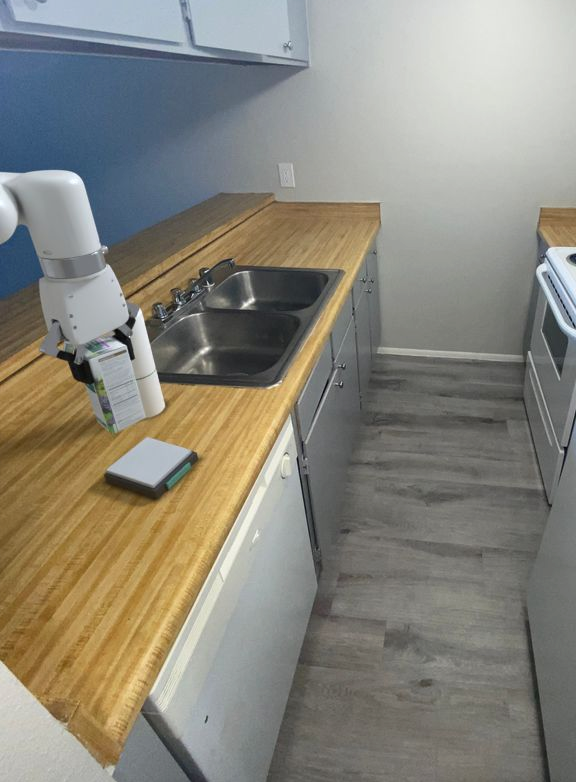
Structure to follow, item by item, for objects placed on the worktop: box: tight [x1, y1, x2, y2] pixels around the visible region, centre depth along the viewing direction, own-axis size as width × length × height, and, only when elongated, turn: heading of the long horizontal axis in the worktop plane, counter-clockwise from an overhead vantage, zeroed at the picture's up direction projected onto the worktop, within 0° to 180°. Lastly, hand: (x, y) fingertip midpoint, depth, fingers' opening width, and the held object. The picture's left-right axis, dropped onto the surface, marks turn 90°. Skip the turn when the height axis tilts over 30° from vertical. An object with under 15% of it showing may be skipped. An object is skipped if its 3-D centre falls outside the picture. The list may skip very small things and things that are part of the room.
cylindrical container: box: [106, 307, 166, 419], centre depth 104 cm, size 7×7×25 cm
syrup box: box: [73, 335, 147, 435], centre depth 76 cm, size 6×6×14 cm
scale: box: [103, 436, 199, 500], centre depth 92 cm, size 12×11×3 cm
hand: (106, 368), depth 75 cm, fingers closed on syrup box, 6 cm apart
